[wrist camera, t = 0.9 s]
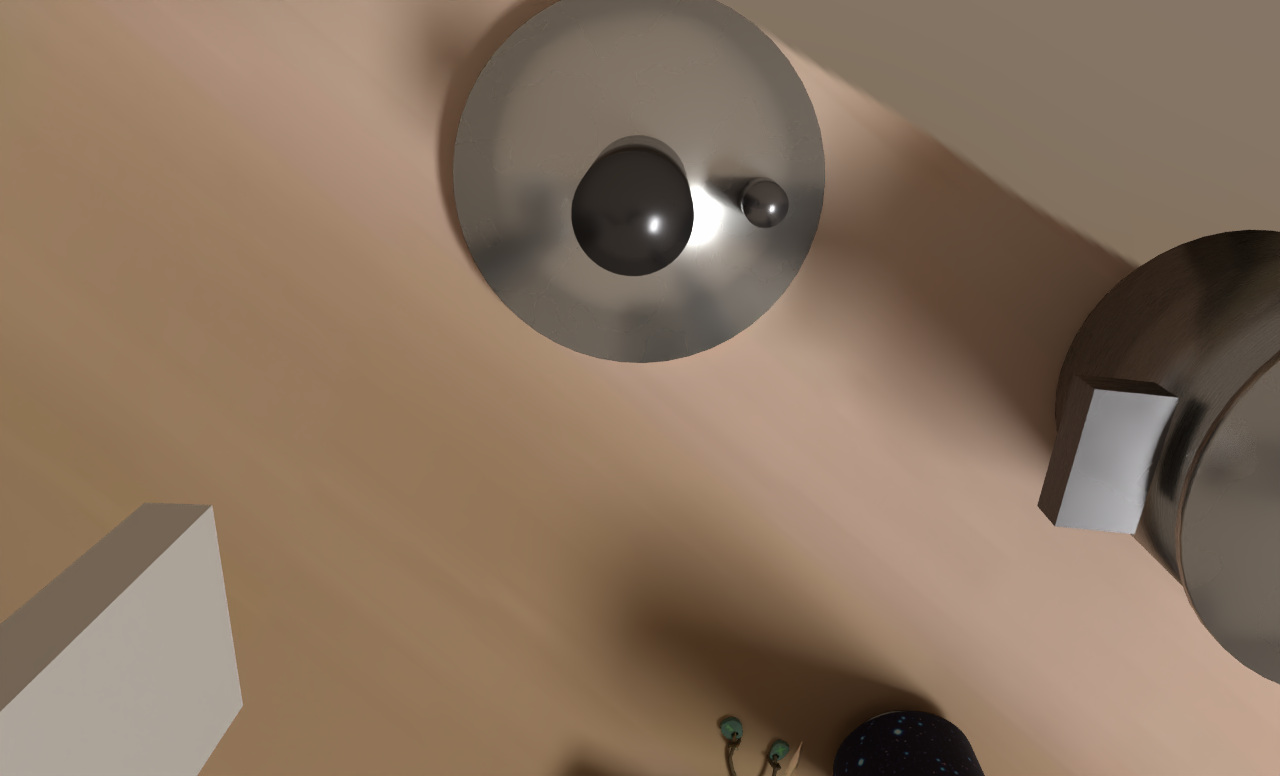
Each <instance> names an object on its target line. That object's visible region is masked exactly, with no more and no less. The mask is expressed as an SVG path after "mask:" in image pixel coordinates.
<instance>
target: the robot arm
mask: <svg viewBox="0 0 1280 776" xmlns="http://www.w3.org/2000/svg"><path fill="white" fill-rule="evenodd" d="M242 706H243V703H242V697H241V690H240V684H239V677H238V671H237V664H236V657H235V651H234V644H233V638H232V631H231V625H230V618H229V612H228V605H227V599H226V592H225V586H224V579H223V573H222V566H221V559H220V553H219V546H218V540H217V533H216V527H215V520H214V514H213V507H212V505H194V504H163V503H144V504H143V505H142V506H140V507H139V508H138V509H137V510H136V511H134V512H133V513H132V514H131V515H130V516H129V517H127V518H126V519H125V520H124V521H123V522H121V523H120V524H119V525H118V526H117V527H115V528H114V529H113V530H112V531H111V532H110V533H108V534H107V535H106V536H105V537H104V538H102V539H101V540H100V541H99V542H98V543H96V544H95V545H94V546H93V547H92V548H91V549H89V550H88V551H87V552H86V553H85V554H83V555H82V556H81V557H80V558H79V559H78V560H76V561H75V562H74V563H73V564H72V565H70V566H69V567H68V568H67V569H66V570H64V571H63V572H62V573H61V574H60V575H59V576H57V577H56V578H55V579H54V580H53V581H51V582H50V583H49V584H48V585H47V586H45V587H44V588H43V589H42V590H41V591H40V592H38V593H37V594H36V595H35V596H34V597H32V598H31V599H30V600H29V601H28V602H26V603H25V604H24V605H23V606H22V607H21V608H19V609H18V610H17V611H16V612H15V613H13V614H12V615H11V616H10V617H9V618H8V619H6V620H5V621H4V622H3V623H2V624H0V776H197V775H198V773H199V772H200V770H201V769H202V767H203V766H204V764H205V763H206V761H207V760H208V758H209V756H210V755H211V753H212V752H213V750H214V749H215V747H216V746H217V744H218V743H219V741H220V740H221V738H222V737H223V735H224V734H225V732H226V730H227V729H228V727H229V726H230V724H231V723H232V721H233V720H234V718H235V717H236V715H237V714H238V712H239V711H240V709H241V708H242Z"/></svg>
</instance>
